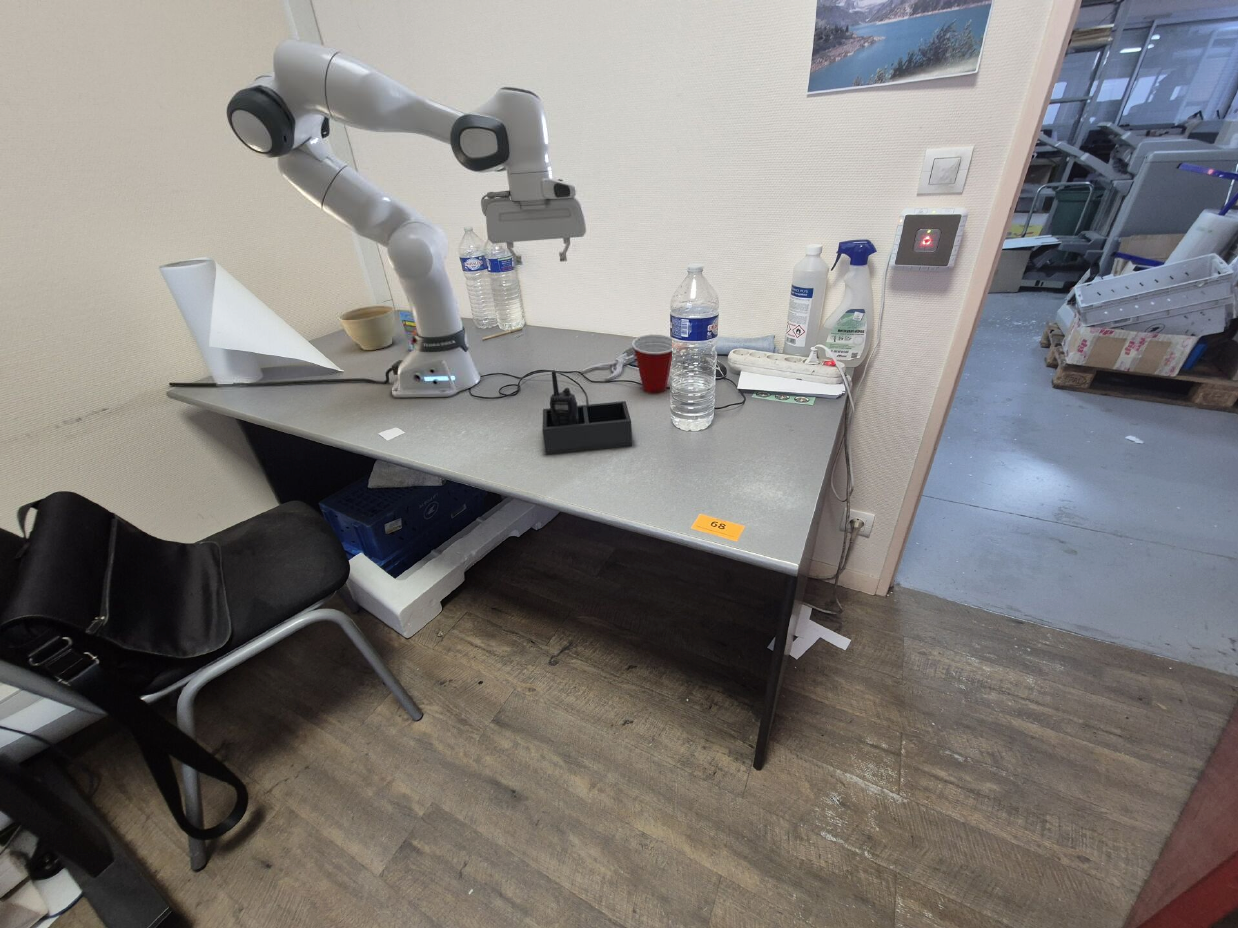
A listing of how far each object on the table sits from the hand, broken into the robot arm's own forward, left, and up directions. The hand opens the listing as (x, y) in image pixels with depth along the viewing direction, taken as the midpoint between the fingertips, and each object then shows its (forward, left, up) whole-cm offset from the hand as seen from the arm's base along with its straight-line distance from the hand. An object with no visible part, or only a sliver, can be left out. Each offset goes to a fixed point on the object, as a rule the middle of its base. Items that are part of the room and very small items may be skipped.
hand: (541, 262), depth 107 cm
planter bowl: (-59, +53, -31) cm, 85 cm away
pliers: (+15, +15, -31) cm, 38 cm away
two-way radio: (+2, -23, -30) cm, 38 cm away
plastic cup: (+24, -1, -31) cm, 39 cm away
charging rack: (+6, -23, -31) cm, 39 cm away
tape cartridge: (-42, +44, -31) cm, 68 cm away
